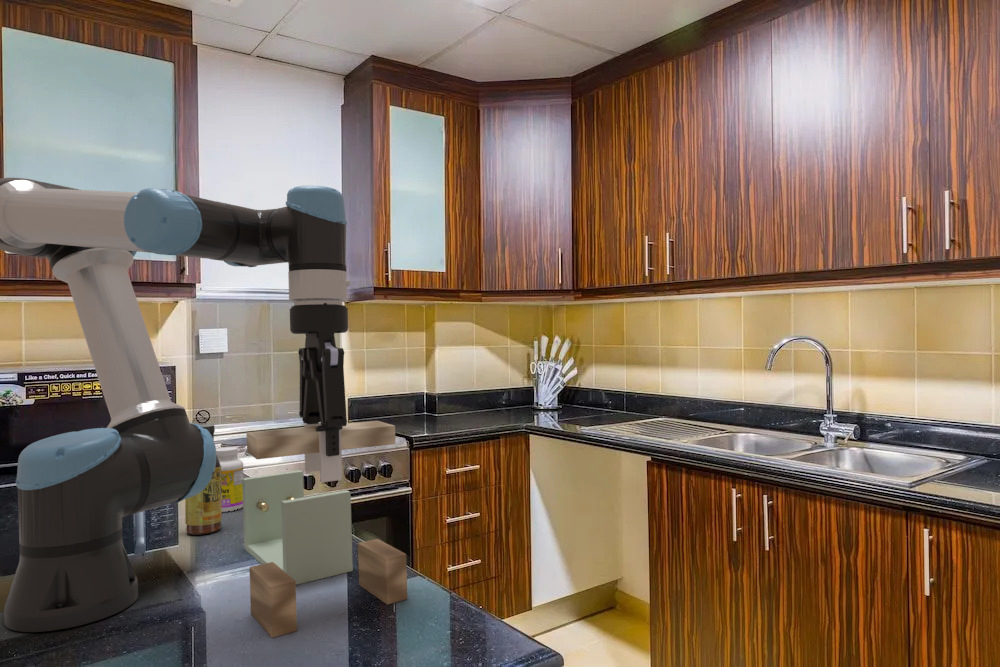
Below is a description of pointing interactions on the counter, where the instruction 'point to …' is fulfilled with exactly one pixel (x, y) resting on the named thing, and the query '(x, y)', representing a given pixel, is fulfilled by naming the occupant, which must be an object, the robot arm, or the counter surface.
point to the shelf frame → (297, 527)
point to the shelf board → (317, 439)
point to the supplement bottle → (230, 478)
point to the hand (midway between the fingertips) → (323, 475)
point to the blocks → (278, 590)
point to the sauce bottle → (206, 503)
